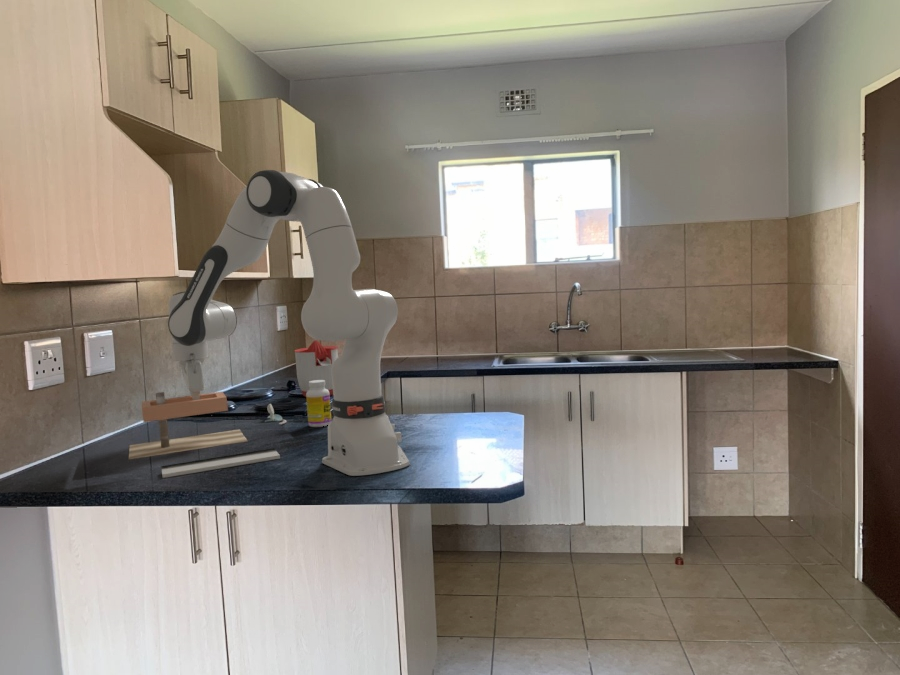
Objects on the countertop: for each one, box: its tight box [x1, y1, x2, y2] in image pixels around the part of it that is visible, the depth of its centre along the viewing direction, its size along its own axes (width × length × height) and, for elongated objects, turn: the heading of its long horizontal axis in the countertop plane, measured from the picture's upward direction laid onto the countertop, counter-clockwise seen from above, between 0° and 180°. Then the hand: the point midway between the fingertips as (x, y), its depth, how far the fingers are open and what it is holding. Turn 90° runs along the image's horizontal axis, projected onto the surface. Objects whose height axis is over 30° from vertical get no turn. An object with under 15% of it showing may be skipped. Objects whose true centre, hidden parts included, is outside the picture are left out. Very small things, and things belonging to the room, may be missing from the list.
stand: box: [128, 391, 248, 460], centre depth 177 cm, size 16×28×16 cm, turn 114°
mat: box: [160, 447, 281, 479], centre depth 164 cm, size 14×26×1 cm, turn 114°
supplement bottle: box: [305, 380, 332, 428], centre depth 196 cm, size 7×7×13 cm
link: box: [141, 391, 229, 423], centre depth 176 cm, size 10×20×4 cm, turn 115°
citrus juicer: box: [293, 339, 339, 398], centre depth 245 cm, size 16×17×20 cm
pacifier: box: [264, 403, 287, 426], centre depth 202 cm, size 7×6×6 cm
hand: (196, 404), depth 181 cm, fingers closed on link, 2 cm apart
